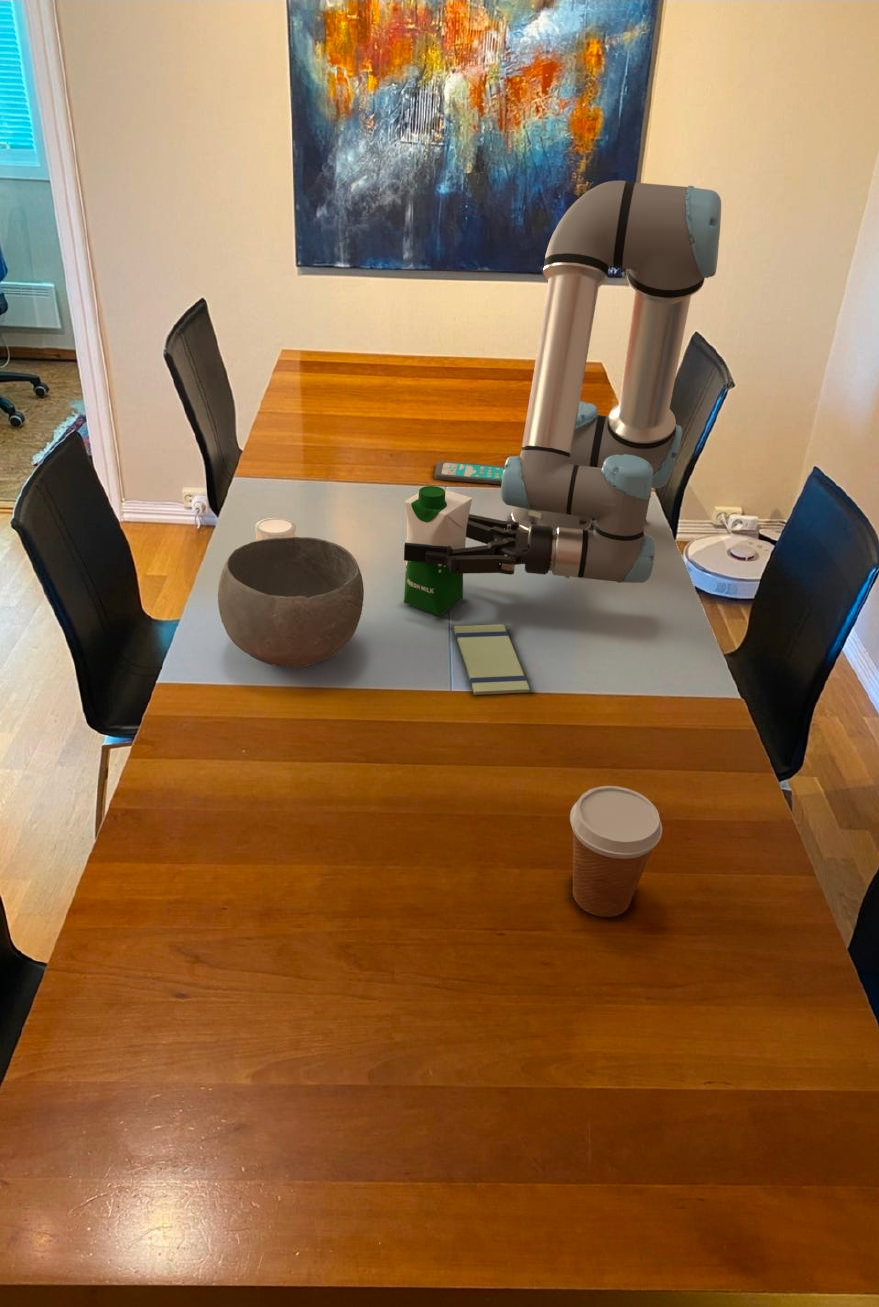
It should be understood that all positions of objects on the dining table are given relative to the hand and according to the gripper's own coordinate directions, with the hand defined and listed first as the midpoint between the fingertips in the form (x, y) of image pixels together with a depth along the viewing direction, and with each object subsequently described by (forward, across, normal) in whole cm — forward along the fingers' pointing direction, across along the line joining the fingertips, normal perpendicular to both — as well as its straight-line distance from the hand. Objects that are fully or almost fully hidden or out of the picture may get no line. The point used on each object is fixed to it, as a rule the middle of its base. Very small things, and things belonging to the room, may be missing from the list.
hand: (408, 537), depth 155 cm
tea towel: (-15, -15, -11) cm, 24 cm away
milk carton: (-4, 0, -11) cm, 12 cm away
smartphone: (-6, +56, -12) cm, 58 cm away
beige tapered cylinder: (+24, +9, -12) cm, 28 cm away
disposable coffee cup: (-30, -61, -11) cm, 69 cm away
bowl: (+14, -19, -12) cm, 26 cm away
